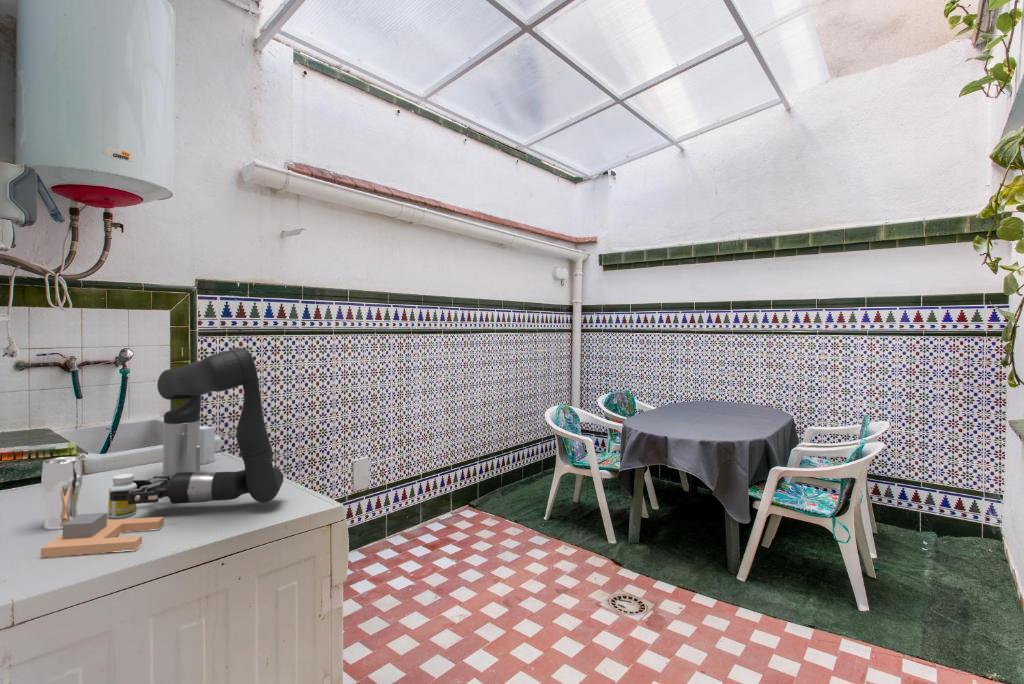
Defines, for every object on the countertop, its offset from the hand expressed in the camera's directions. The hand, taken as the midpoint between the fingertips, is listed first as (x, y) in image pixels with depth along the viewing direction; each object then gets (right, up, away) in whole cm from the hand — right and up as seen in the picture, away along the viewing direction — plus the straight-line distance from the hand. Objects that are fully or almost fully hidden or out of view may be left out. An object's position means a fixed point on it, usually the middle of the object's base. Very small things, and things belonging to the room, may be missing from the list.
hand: (119, 490), depth 120 cm
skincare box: (-10, -5, +49) cm, 50 cm away
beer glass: (-8, -6, -7) cm, 12 cm away
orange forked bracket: (+8, -6, -14) cm, 18 cm away
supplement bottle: (0, -6, 0) cm, 6 cm away
